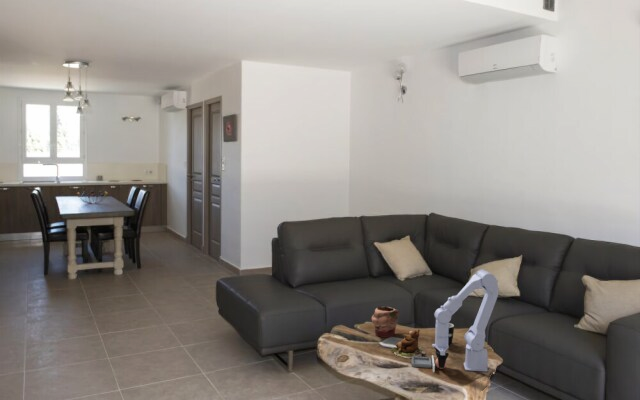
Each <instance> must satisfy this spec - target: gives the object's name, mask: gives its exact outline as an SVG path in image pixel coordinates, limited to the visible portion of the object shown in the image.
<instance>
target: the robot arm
mask: <svg viewBox="0 0 640 400" xmlns="http://www.w3.org/2000/svg"><path fill="white" fill-rule="evenodd" d="M498 283H499V280H498V279H497V277H496V276H495V275H494V274H492V273H491V272H490V271H489V272H488V271H487V270H486V269H484V268H482V269H479V270H477V271H476V272H475V274H473V275H472V276H471V277H470V279H469V281H468V282H467V283H466V284H465V286H463V287H462V289H461V290H460V291H459V292H457V294H456V295H452V296H449V297H448V298H447V301H446V302H444V304H443V305H440V307H439V308H437V309H436V310H435V312H434V313H433V315H434V319H435V329H434V331H435V334H434V335H435V337H434V338H435V339H434V343H432V347H433V348H434V349H435V356H436V359H437V358H438V364H439V368H438V369H440V368H443V369H445V368H444V366H445V362H446V361H447V359H448V357H449V354H450V353H449V352H447V350H448V349H449V347H450V346H449V345H448V334H449V323H450V321H451V319H452V316H453V315H454V314H455V313H456V312H457V311H458V310H459V309H460V308H461V307H463V301H464V300H465V299H466V298H468V297H469V295H471V294H472V293H473V292H475V290H479V289H482V290H483V291H484V296H483V298H482V301H481V304H480V307H479V308H478V309H479V310H478V312H477V315H476V317H475V319H474V321H473V325H471V326H470V327H469V329H468V331H467V332H465V334H464V337H463V339H464V342H466V344H465V359H464V362H463V367H464V369H465V371H471V372H488V361H489V359H488V355H489V354H488V349H487V348H485V344H486V343H485V342H486V341H485V340H486V328H487V325H488V323H489V321H490V318H491V316H492V313H493V310H494V307H495V305H496V302H497V300H498V296H499V286H498Z"/></svg>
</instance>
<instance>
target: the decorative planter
mask: <svg viewBox="0 0 640 400" xmlns="http://www.w3.org/2000/svg"><path fill="white" fill-rule="evenodd" d="M399 317H400V311H399V310H398V309H395V308H393V307H390V306H378V307H376V308H375V309H374V313H373V314H372V316H371V322H372V324H373V325H374V334H375V335H376V336H378V337H380V338H391V337H394V335H395V333H396V328H397V325H398V322H399Z"/></svg>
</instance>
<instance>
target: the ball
mask: <svg viewBox="0 0 640 400" xmlns="http://www.w3.org/2000/svg"><path fill="white" fill-rule="evenodd" d="M434 364H435V367H437V369H440V370H441V369H445V368H447V365H448V361H447V360H446V362H445V366H444V368H439V364H438V358H437V357H436V359H435V361H434Z"/></svg>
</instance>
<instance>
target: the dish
mask: <svg viewBox="0 0 640 400" xmlns="http://www.w3.org/2000/svg"><path fill="white" fill-rule="evenodd" d="M411 367H414V368H426V369H427V368H429V369H431V368H432V356H431V357H430V356H418V357H416V356H412V358H411Z"/></svg>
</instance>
